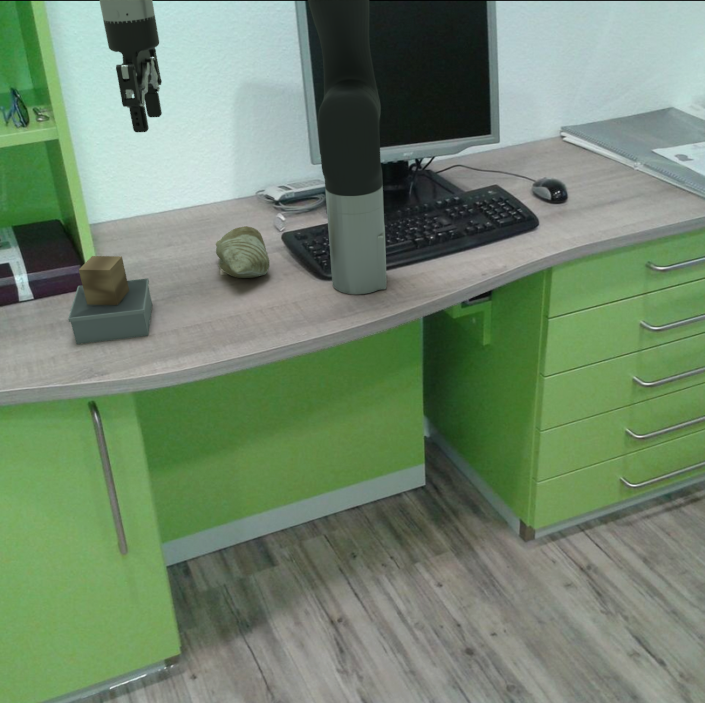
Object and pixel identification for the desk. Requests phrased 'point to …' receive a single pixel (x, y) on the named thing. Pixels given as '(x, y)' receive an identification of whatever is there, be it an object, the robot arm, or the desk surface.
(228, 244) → the seashell
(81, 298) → the grey-green square slab
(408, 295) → the desk surface
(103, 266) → the brass block
